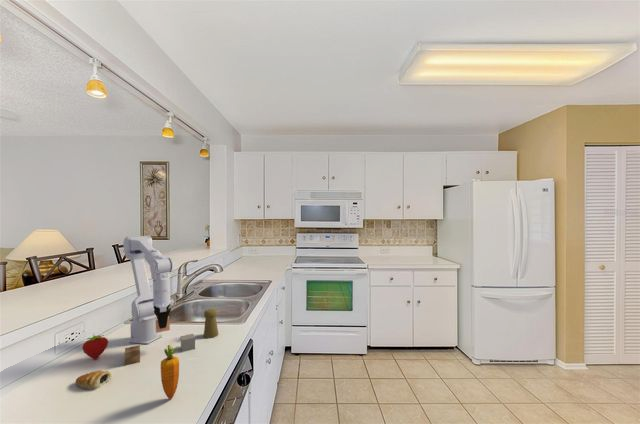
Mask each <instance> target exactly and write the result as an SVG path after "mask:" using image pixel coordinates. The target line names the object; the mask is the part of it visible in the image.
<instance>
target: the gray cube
mask: <svg viewBox="0 0 640 424" xmlns="http://www.w3.org/2000/svg"><path fill="white" fill-rule="evenodd" d="M195 349H196V337H195V335H194V333H189V334H185V335H180V350H181V352H182V353H185V352H189V351H192V350H195Z"/></svg>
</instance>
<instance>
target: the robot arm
mask: <svg viewBox="0 0 640 424" xmlns="http://www.w3.org/2000/svg"><path fill="white" fill-rule="evenodd" d="M153 242H154V241H153V239H152V237H151V235H142V236H141V235H139V236H125V238H124V239H123V244H122V245H123V252H124V256H125V258H126V259H128V260H130V263H131V267H132V268H131V269H132V273H133V278H134V283H135V289H136V293H137V297H136V298H135V299H134V300H133V301H132V302H131V305H130V306H131V316H132V318H133V320H132V322H131V323H130V328H129V329H130V340H129V341H128V343H134V344H135V343H136V344H143V345H148V344H151V343H152V342H154V341H156V340H158V339H160V338H162V337H163V335H162V334H158V333H156V319H155V317H157V319H158V324H159V328H160V329H161V328H166V326H167V320H168V316H169V317H170V313H171V311H172V307H170V306H171V305H170V304H172V303H174V301H175V300H174V299H173V298H172V299H171V276H170V275H171V274H170V273H171V272H172V271H173V262H172V258H171V257H165V256H164V255H163V254H162V253H161V251H159V250H158V249H157V248H154V247H153ZM145 261H146V263H148V265H149V271H150V274H151V275H150V276H151V280H152V291H151V287H150V282H149V278H148V273H147V268H146V263H145Z"/></svg>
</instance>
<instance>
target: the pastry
mask: <svg viewBox="0 0 640 424" xmlns="http://www.w3.org/2000/svg"><path fill="white" fill-rule="evenodd" d="M111 379H112V373H111V372H110V371H108V370H102V369H101V370H100V369H99V370H95V371H91V372H90V371H89V372H87V373H85V374H82V375H80V376H78V377H77V378H76V379H75V384H76V385H77V386H78V387H80V388H81V389H84V390H85V389H86V390H97V389H99V388H101V387H103V386H104V385H105V384H107V382H109V381H110V380H111Z"/></svg>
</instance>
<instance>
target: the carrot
mask: <svg viewBox="0 0 640 424" xmlns="http://www.w3.org/2000/svg"><path fill="white" fill-rule="evenodd" d="M179 347H180V346H179V345H178V346H175V347H174V348H173V347H172V345H171V344H168V345H167V348H165V349H164V350H163V351H164V354H165V355H166V357H165V358H164V359H162V360H161V361H160V380H161V384H162V389H163V392H164V393H165V396H166V397H167V398H168V399H169V400H172V398H173V397H174V396H175V394H176V391H177V389H178V384H179V380H180V379H179V378H180V376H179V375H180V359H179V357H178V356H175V355H174V353H175V352H176V351H177V350H178V349H179Z"/></svg>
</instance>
